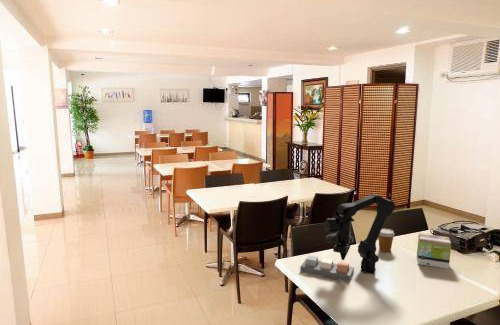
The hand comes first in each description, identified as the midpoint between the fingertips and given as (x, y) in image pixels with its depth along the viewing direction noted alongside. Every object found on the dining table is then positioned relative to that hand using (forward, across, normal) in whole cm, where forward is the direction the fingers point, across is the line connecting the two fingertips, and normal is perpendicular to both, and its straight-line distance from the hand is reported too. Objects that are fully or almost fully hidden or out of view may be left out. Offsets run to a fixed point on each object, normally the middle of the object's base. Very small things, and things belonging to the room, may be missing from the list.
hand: (342, 259), depth 176 cm
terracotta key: (+7, 0, 0) cm, 7 cm away
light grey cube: (+7, 0, -16) cm, 17 cm away
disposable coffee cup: (+8, -44, +16) cm, 47 cm away
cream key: (+7, 0, -8) cm, 11 cm away
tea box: (+8, -36, +41) cm, 55 cm away
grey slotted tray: (+8, 0, -8) cm, 11 cm away
